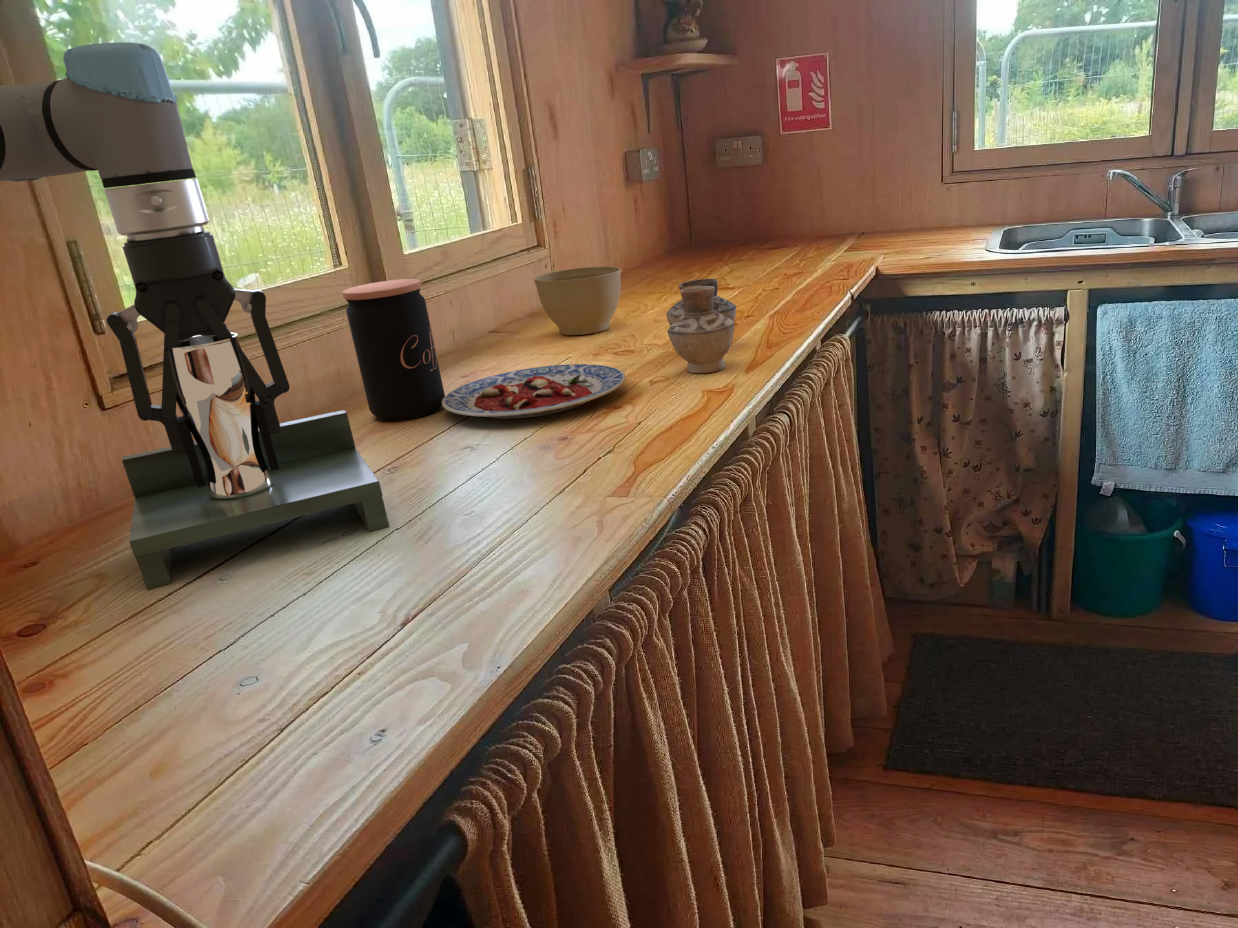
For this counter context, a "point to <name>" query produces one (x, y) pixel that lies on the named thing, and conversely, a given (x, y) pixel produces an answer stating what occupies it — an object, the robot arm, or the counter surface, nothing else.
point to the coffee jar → (395, 349)
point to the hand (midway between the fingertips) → (238, 474)
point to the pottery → (701, 325)
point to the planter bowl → (580, 298)
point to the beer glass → (220, 414)
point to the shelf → (304, 484)
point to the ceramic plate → (533, 391)
